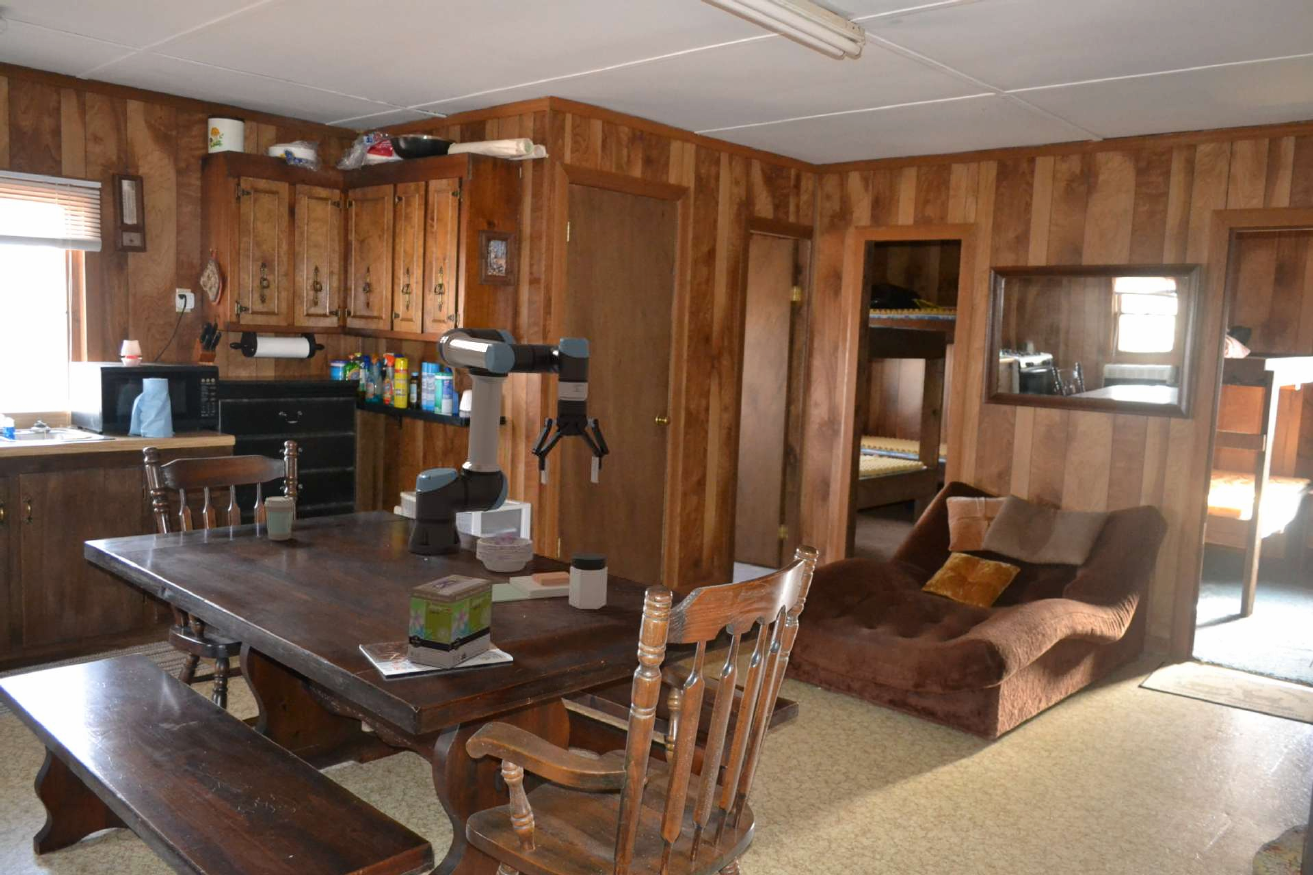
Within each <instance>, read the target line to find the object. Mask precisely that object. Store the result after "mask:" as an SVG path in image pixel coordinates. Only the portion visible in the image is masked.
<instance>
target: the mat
mask: <svg viewBox="0 0 1313 875" xmlns="http://www.w3.org/2000/svg"><path fill="white" fill-rule="evenodd" d="M526 600H531V599H530V598H529V597H528V596H526V595H525V594H523V593H522V592H520V591H519V590H517V589H516V588H514V587H513V586H511V585H510V583H507V582H506V583H495V584H493V588H492V604H493V603H503V602H505V603H506V602H513V601H515V602H516V601H526Z"/></svg>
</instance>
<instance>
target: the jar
mask: <svg viewBox="0 0 1313 875" xmlns="http://www.w3.org/2000/svg"><path fill="white" fill-rule="evenodd" d="M569 574H570V585H569V595H568V605H569V606H571V607H574V608H575V609H576V608H577V609H578V610H598V609H600V608H602V607H604V606H606V605H607V589H608V588H607V586H608V585H607V583H608V566H607V556H606V555H605V554H602V553H597V552H577V553H574V554H572V558H571V566H570V568H569Z"/></svg>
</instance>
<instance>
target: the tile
mask: <svg viewBox="0 0 1313 875" xmlns="http://www.w3.org/2000/svg"><path fill="white" fill-rule="evenodd" d="M531 576H532V580H533V581H535V582H536V583H538V584H540V585H553V584H566V583H570V573H568V572H567V571H556V572H543V573H532V575H531Z"/></svg>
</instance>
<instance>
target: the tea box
mask: <svg viewBox="0 0 1313 875" xmlns="http://www.w3.org/2000/svg"><path fill="white" fill-rule="evenodd" d="M492 588H493V581H492V580H491V579H490V580H489V579H484V578H476V577H471V576H466V575H465V576H464V575H458V574H450V575H448V576H444V577H442V578H439V579H436V580H433V581H430V582H427V583H424V584H420V585H418V586H415V587H411V590H410V608H409V610H410V611H409V623H408V624H409V628H408V644H407V645H408V646H407V661H409V662H412V663H416V664H420V665H425V666H431V667H434V668H440V669H448V670H449V669H451V668H452V667H455V666H457V665H459V664H460V663H462V662H465V661H467V660H468V659H471V658H474V657H476V656H478V655H480V654H482V653H484V651H485V650H487V649H488V650H490V645H491V644H490V642H491V627H492V626H491V625H492V623H491V622H492V608H493V607H492V606H493V603H492ZM488 650H487V651H488ZM485 652H486V651H485ZM477 654H478V655H477Z"/></svg>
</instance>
